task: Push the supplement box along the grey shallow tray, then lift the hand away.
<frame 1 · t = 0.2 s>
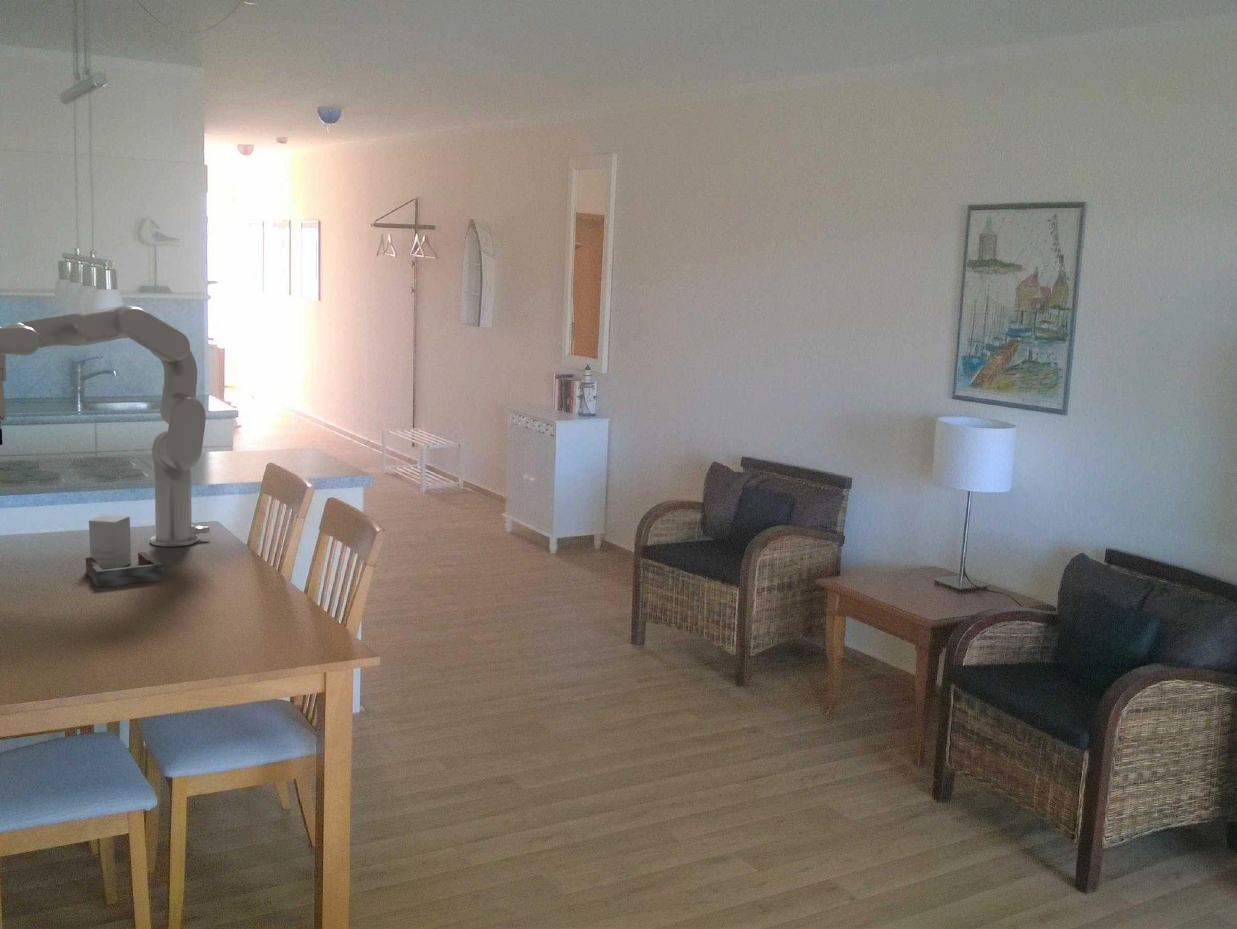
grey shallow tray: (121, 575, 283), on the table
supplement box: (110, 566, 291), on the table
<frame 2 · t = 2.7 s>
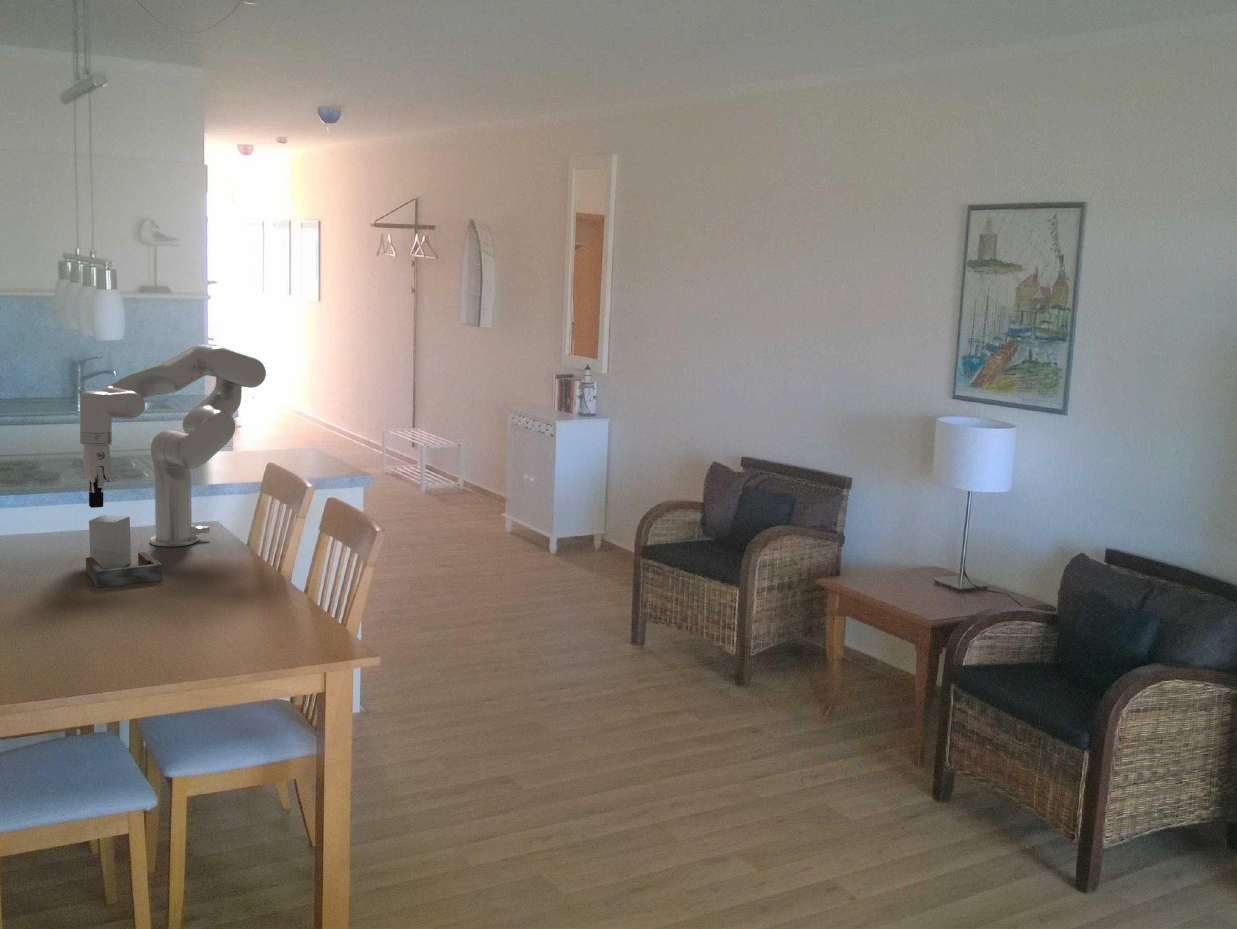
hand: (96, 506, 298), 13 cm above the table, fingers closed
nothing on the table moved.
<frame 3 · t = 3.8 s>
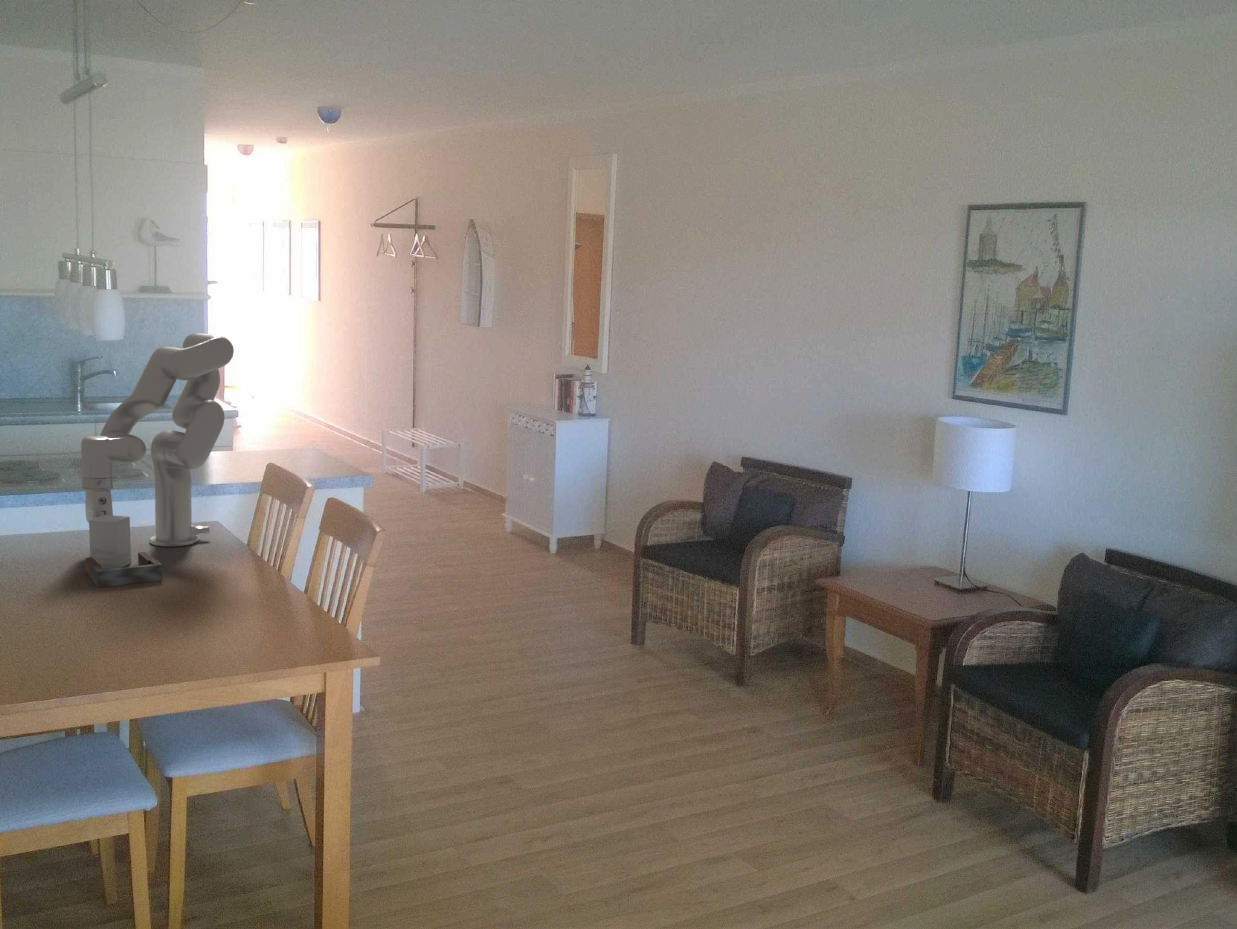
hand: (98, 550, 300), 1 cm above the table, fingers closed
nothing on the table moved.
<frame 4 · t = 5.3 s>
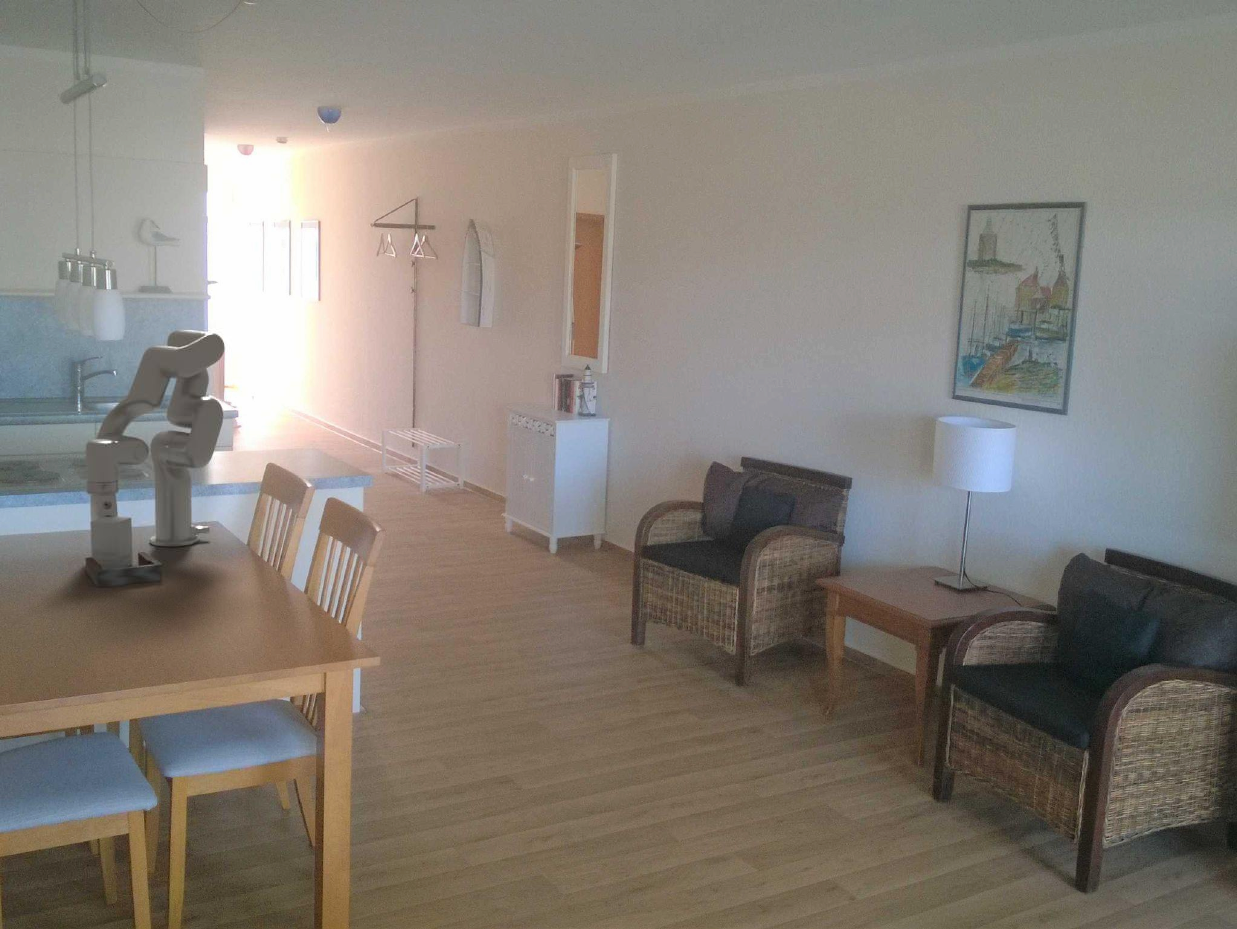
hand: (103, 555, 296), 1 cm above the table, fingers closed
supplement box: (112, 567, 290), on the table, touching gripper
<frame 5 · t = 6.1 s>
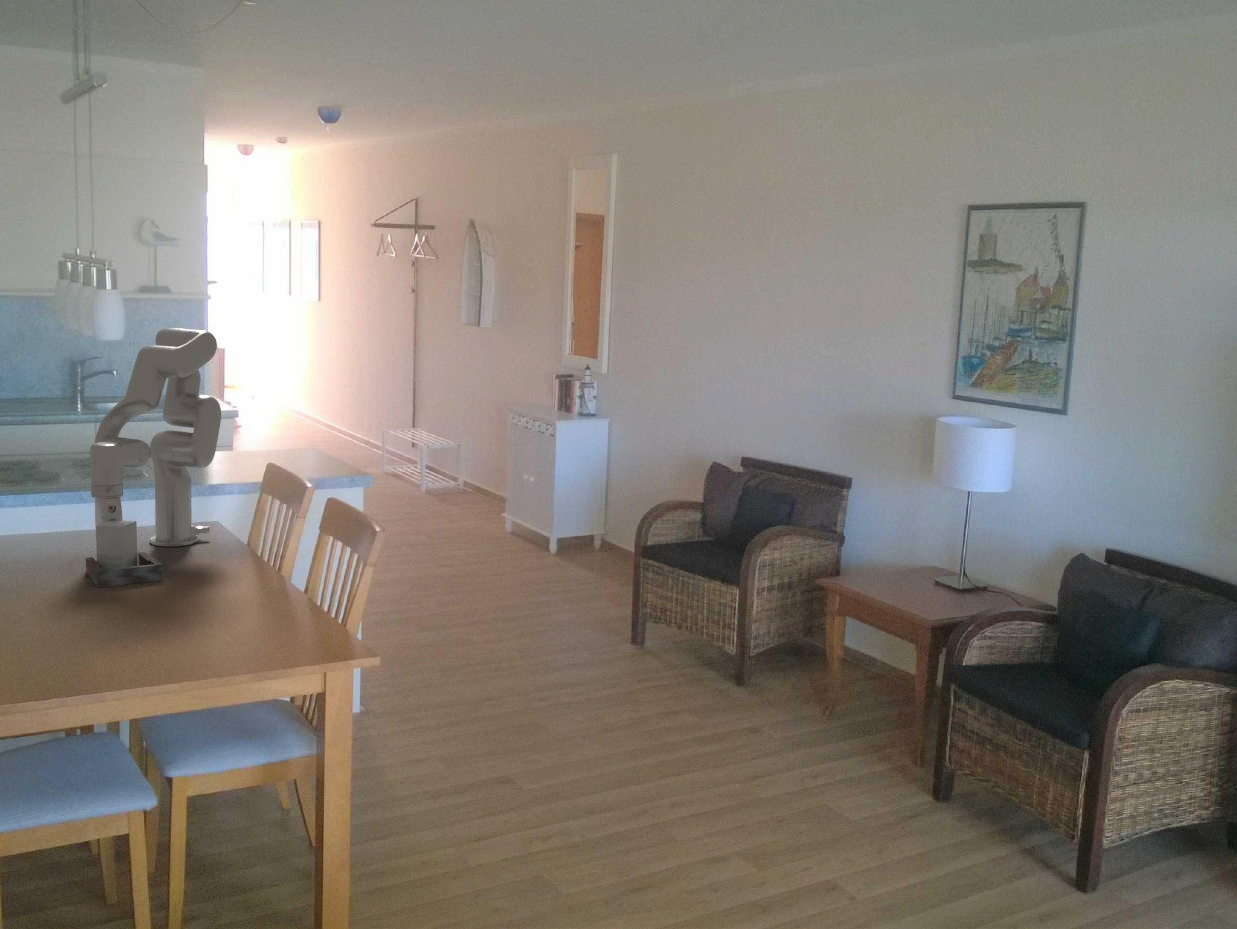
hand: (108, 559, 292), 1 cm above the table, fingers closed
supplement box: (117, 572, 286), on the table, touching gripper
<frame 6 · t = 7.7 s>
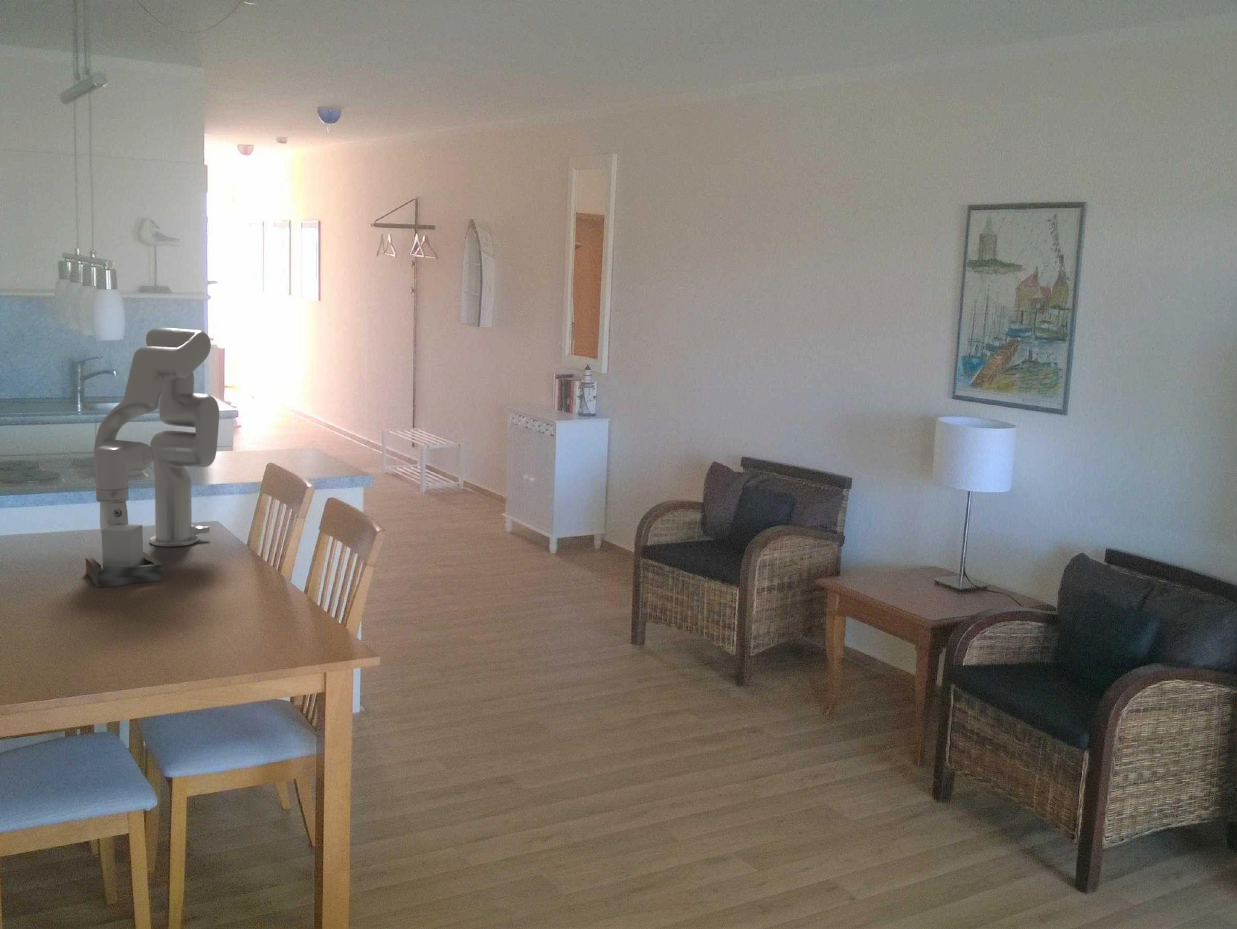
hand: (113, 564, 289), 1 cm above the table, fingers closed
supplement box: (123, 576, 282), on the table, touching gripper
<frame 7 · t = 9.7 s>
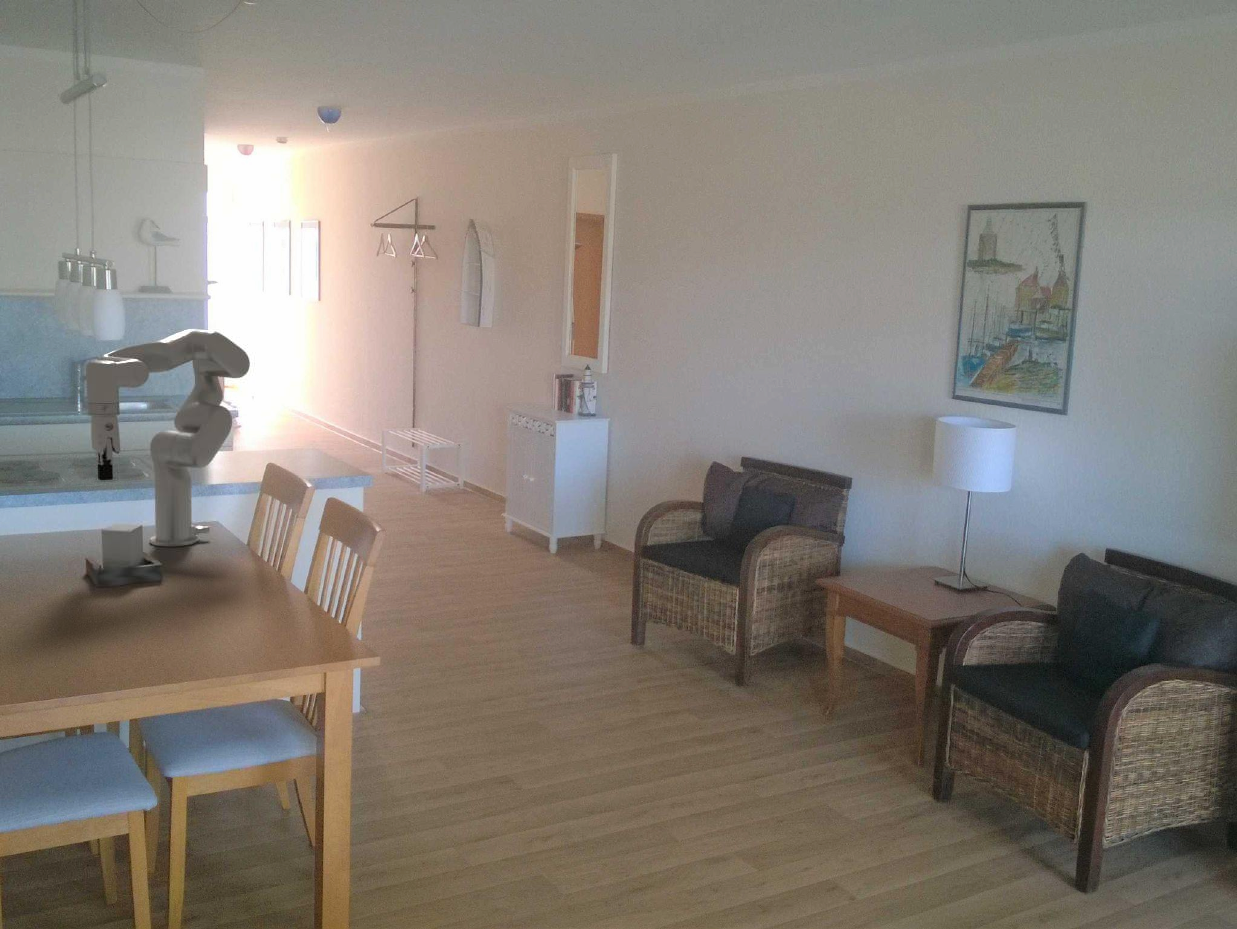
hand: (105, 479, 291), 22 cm above the table, fingers closed
supplement box: (123, 576, 283), on the table
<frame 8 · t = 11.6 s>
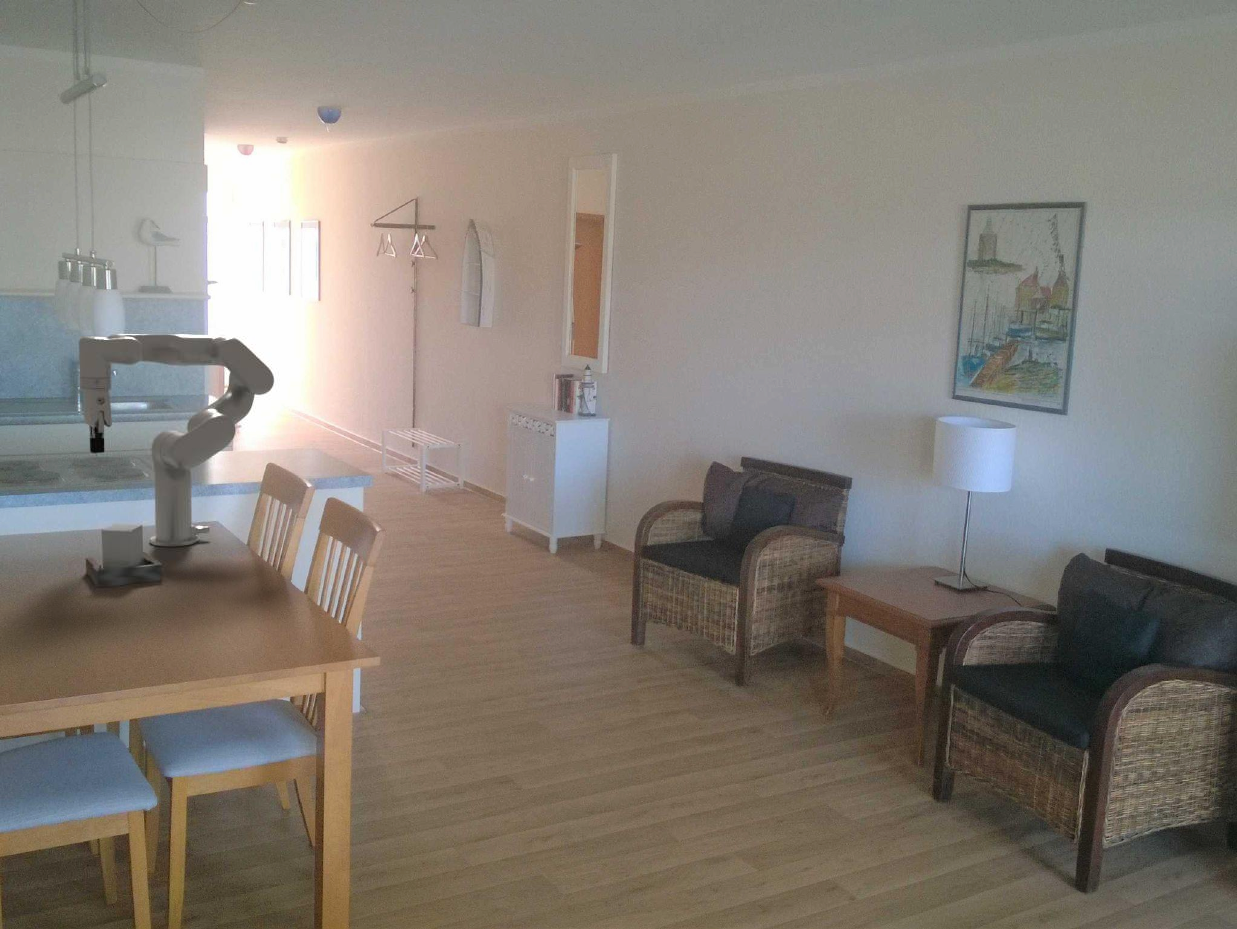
hand: (97, 452, 299), 27 cm above the table, fingers closed
nothing on the table moved.
at the end: supplement box inside the target area (0.9 cm from its centre), on the table; supplement box moved 11.1 cm from its start; the gripper is holding nothing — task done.
